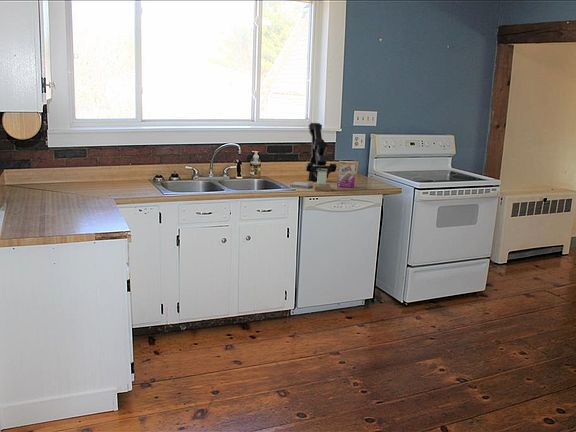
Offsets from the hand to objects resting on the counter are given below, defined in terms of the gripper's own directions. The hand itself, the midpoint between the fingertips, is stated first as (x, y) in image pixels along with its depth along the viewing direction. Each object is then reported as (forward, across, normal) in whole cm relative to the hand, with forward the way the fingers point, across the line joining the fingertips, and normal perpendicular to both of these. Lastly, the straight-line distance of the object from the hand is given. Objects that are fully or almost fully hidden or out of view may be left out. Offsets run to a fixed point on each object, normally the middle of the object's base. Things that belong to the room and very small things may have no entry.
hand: (322, 178), depth 363 cm
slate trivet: (-3, -11, +13) cm, 17 cm away
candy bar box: (-4, +18, +14) cm, 23 cm away
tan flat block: (+5, 0, +5) cm, 7 cm away
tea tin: (+2, 0, +4) cm, 4 cm away
